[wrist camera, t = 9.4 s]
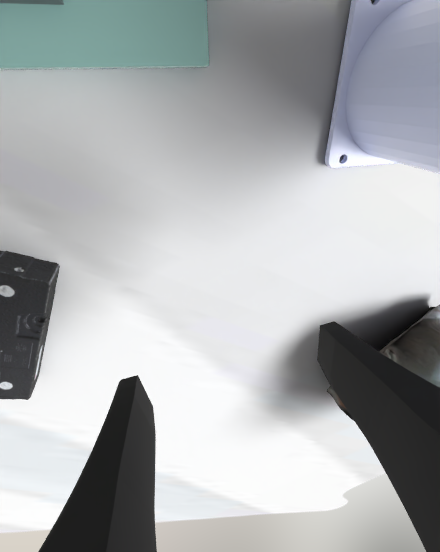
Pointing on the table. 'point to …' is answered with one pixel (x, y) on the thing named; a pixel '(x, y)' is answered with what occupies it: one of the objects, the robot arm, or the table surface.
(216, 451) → the table surface
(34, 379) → the disk drive
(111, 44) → the teal peg board
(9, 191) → the table surface
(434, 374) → the grey lumpy piece
